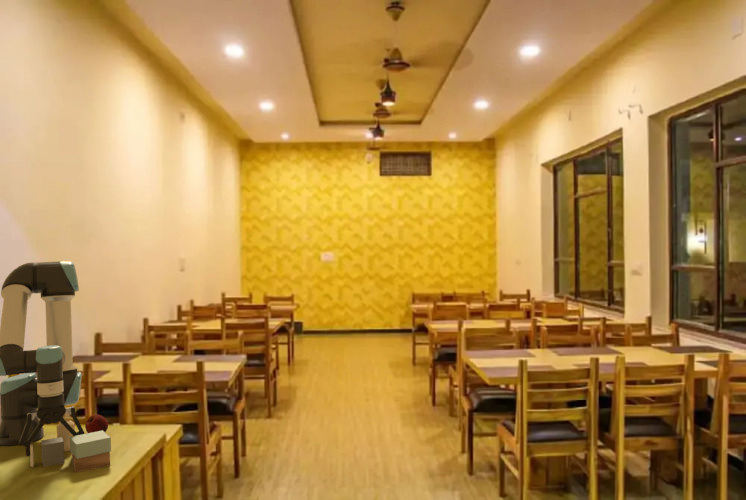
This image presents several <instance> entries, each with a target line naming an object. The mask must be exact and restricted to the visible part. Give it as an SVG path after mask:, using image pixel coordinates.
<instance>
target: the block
mask: <svg viewBox="0 0 746 500" xmlns="http://www.w3.org/2000/svg"><path fill="white" fill-rule="evenodd" d="M40 441H41V442H40V443H41V461H42V462H41V463H42V466H43V468H46V467H51V466H55V465H61V464H65V452H64V441H63V438H62V437H58V438H57V437H54V438H48V439H41V440H40Z"/></svg>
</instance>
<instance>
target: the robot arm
mask: <svg viewBox="0 0 746 500" xmlns="http://www.w3.org/2000/svg"><path fill="white" fill-rule="evenodd" d="M79 290H80V287H79V281H78V275H77V270H76V265H75V264H74V263H73V262H72V261H65V260H64V261H61V260H60V261H44V262H43V261H41V262H34V261H33V262H26V263H24V264H21V265H19V266H18V267H16V268H15V269H13V270H12V271H11V272H9V274H8V276H6V278H5V280H4V281H3V283H2V286H1V291H0V295H1V298H2V299H3V301H2V310H1V311H2V312H1V317H0V318H1V319H0V377H6V376H9V377H8V378H5V379H3V380H2V381H1V382H0V446H16V445H19V446H24V447H25V455H26V457H30V459H29V461H30V462H29V463H30V465H29V466H30V468H34V464H35V463H34V445H33V444H32V443H33V442H35V441H38V440H40V439H43V437H44V435H45V434H44V433H45V432H44V426H45V425H50V424H57V423H60V422H61V423H62V424H63V425H64V426H65V427H66V429H67V430H68V431H69V432H70V433H71V434H72V435H73V436H77V435H82V434H85V431H84V429H83V426H82V425H81V422H80V420H79V419H78V417H77V415H76V408H75V406H74V405H75V404H77V403H78V402H79V399H80V396H81V386H82V374H83V373H82V372H80V371H78V367H77V366H76V365H75V364H73V362H74V361H73V336H72V335H73V334H72V333H73V331H72V303H71V302H72V300H73V299H74V298H75V296H76V292H79ZM32 294H40V299H41V300H43V302H44V304H45V331H46V332H45V334H46V335H45V337H46V346H45V345H44V346H40V347H38V348H36V349H30V350H24V347H25V339H26V338H25V336H26V324H27V315H28V313H27V312H28V303H29V302H28V300H29V299H31V297H32ZM12 375H14V376H12ZM10 376H11V377H10ZM68 405H69V406H70V405H72V406H70V407H65V406H68ZM66 413H67V414H68V415H70V416H71V417H72V420H73V422H74V423H75V425H76V426H75V427H76V428H77V430H78V431H76V429H75V430H74V429H73V428H72V427H71V426H70V425H69V424H68V423H67V421H66V420H67V419H65V418H64V415H65V414H66Z"/></svg>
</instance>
